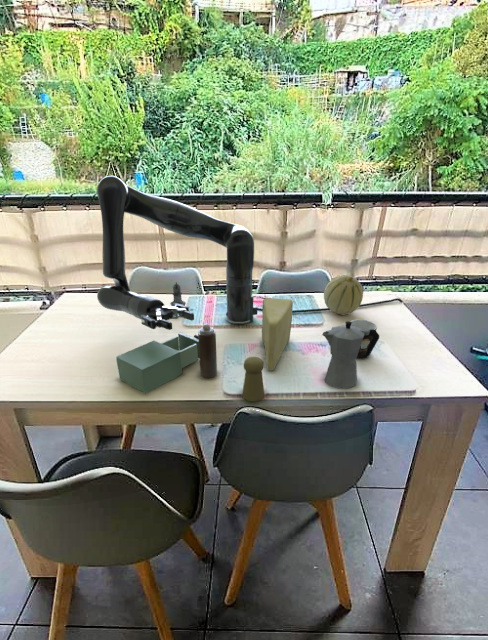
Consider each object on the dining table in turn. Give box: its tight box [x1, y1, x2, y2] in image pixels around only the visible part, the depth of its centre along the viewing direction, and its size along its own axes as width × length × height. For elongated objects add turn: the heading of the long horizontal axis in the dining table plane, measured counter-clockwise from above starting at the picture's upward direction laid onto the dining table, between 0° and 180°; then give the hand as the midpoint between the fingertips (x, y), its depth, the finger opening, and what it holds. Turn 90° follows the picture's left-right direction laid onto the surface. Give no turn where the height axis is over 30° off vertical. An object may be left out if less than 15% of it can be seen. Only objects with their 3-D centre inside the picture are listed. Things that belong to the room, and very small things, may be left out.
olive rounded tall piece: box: [241, 356, 265, 403], centre depth 109 cm, size 6×6×11 cm
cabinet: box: [115, 340, 183, 394], centre depth 118 cm, size 13×11×7 cm
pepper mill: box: [197, 323, 218, 380], centre depth 117 cm, size 5×5×16 cm
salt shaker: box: [169, 281, 186, 315], centre depth 159 cm, size 6×6×12 cm
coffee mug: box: [350, 319, 378, 360], centre depth 130 cm, size 12×9×10 cm
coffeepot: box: [321, 320, 380, 389], centre depth 114 cm, size 15×9×18 cm, turn 92°
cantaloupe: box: [323, 274, 364, 316], centre depth 158 cm, size 15×15×15 cm
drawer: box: [160, 332, 200, 369], centre depth 126 cm, size 17×10×6 cm, turn 140°
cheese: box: [261, 297, 294, 371], centre depth 128 cm, size 22×10×15 cm, turn 172°
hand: (182, 321), depth 119 cm, fingers open, 8 cm apart
